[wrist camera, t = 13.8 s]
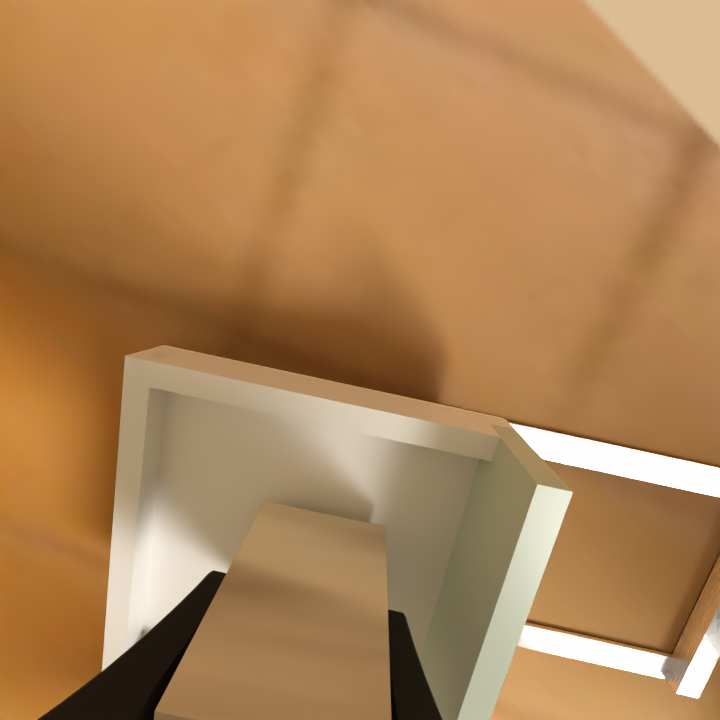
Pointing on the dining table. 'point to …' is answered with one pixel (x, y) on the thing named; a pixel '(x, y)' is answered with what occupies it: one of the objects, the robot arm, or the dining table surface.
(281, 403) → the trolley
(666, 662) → the track
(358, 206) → the dining table surface
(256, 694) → the block
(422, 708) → the robot arm
